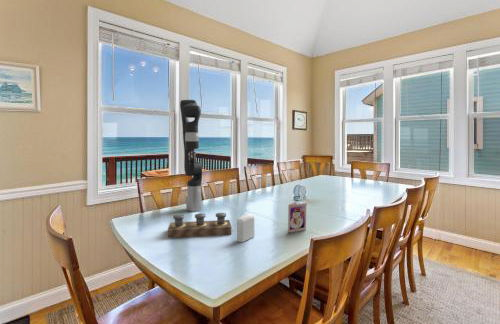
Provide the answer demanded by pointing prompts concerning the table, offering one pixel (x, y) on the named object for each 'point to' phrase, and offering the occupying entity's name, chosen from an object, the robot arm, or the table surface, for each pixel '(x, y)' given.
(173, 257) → the table surface
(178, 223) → the left knob
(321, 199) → the table surface
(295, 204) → the greeting card
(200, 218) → the middle knob
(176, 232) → the mount board
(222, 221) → the right knob
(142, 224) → the table surface
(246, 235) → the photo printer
